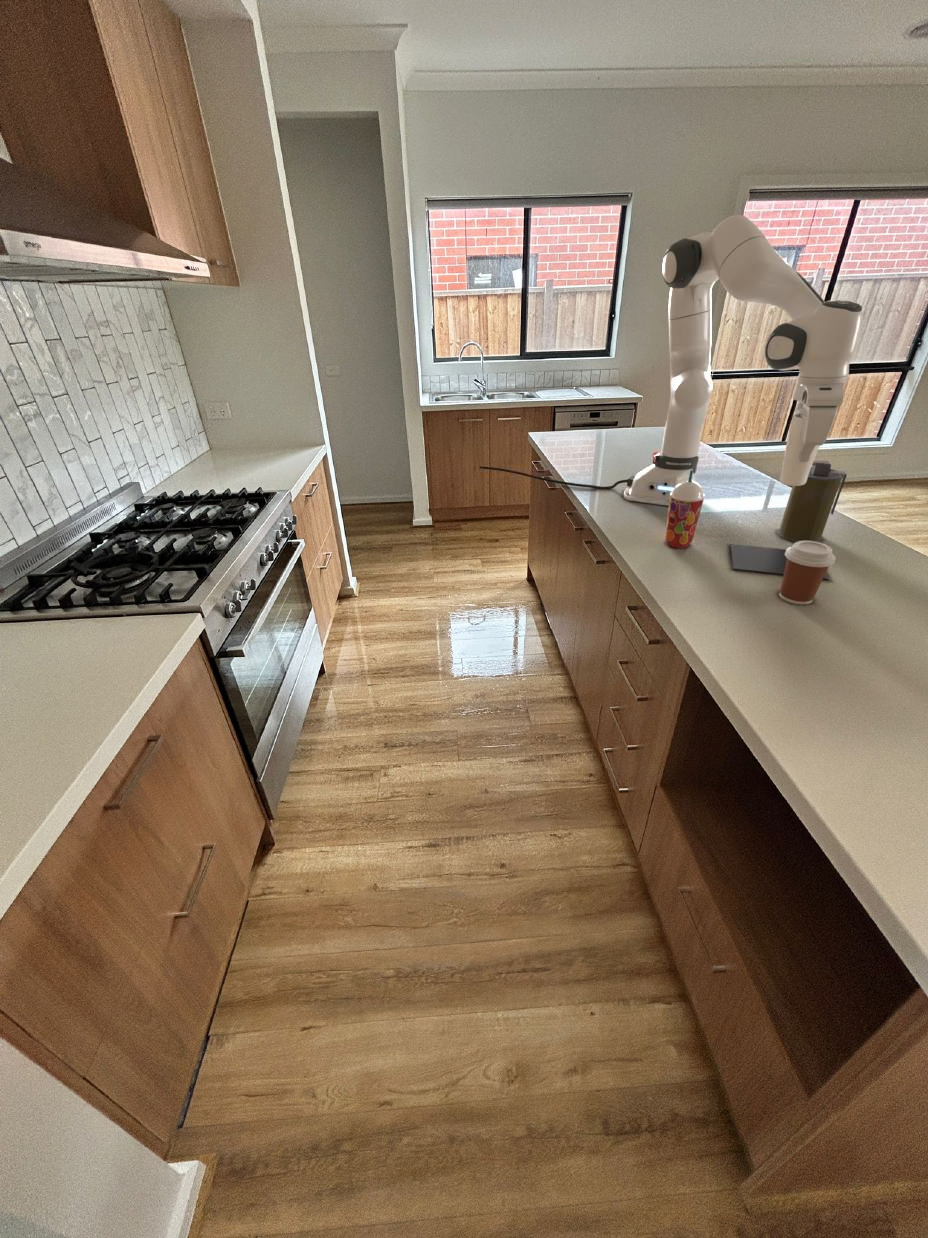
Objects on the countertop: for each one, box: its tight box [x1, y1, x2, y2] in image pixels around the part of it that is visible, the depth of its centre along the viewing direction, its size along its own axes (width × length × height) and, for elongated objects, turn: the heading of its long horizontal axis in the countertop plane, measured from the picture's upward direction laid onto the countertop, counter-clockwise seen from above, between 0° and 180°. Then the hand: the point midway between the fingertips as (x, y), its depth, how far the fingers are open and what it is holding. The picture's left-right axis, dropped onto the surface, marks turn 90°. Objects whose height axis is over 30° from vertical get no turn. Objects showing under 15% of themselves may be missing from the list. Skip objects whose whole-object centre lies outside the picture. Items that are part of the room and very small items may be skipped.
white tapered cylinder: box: [779, 413, 821, 487], centre depth 115 cm, size 7×7×15 cm
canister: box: [777, 460, 848, 543], centre depth 134 cm, size 11×10×20 cm
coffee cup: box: [778, 541, 837, 605], centre depth 109 cm, size 9×9×12 cm
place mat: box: [729, 543, 830, 581], centre depth 127 cm, size 20×15×1 cm
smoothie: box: [664, 470, 706, 549], centre depth 133 cm, size 8×8×20 cm
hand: (800, 456), depth 115 cm, fingers closed on white tapered cylinder, 6 cm apart
